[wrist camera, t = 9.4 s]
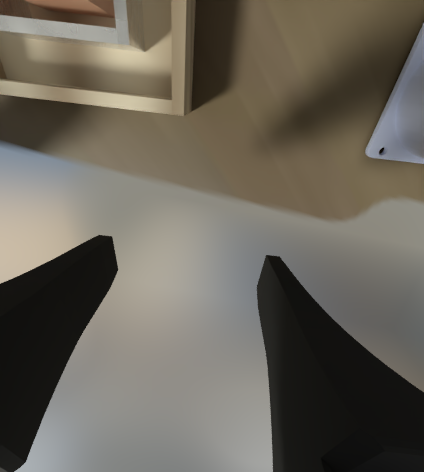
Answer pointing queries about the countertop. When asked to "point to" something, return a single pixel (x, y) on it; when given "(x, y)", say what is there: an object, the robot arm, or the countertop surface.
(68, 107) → the countertop surface
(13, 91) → the walled box
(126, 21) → the frame
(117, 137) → the countertop surface
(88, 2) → the tan-topped block
